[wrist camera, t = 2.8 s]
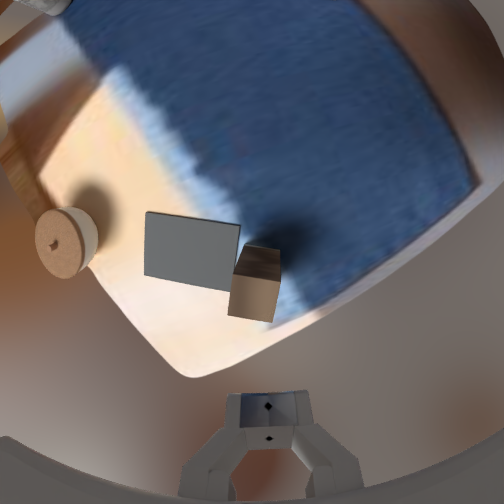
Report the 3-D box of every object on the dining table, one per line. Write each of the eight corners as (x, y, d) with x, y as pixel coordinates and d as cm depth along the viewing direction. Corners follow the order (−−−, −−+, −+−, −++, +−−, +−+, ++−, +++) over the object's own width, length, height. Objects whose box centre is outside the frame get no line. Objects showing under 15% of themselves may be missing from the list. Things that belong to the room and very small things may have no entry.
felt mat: (239, 225, 38) (239, 226, 38) (231, 290, 42) (230, 292, 41) (146, 212, 39) (145, 212, 38) (145, 274, 42) (144, 275, 42)
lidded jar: (63, 197, 39) (26, 207, 30) (110, 205, 39) (74, 218, 30) (64, 254, 43) (31, 273, 34) (108, 268, 43) (76, 291, 34)
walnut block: (280, 249, 39) (280, 282, 29) (273, 282, 41) (272, 322, 30) (244, 244, 39) (232, 274, 29) (239, 276, 41) (227, 315, 30)
